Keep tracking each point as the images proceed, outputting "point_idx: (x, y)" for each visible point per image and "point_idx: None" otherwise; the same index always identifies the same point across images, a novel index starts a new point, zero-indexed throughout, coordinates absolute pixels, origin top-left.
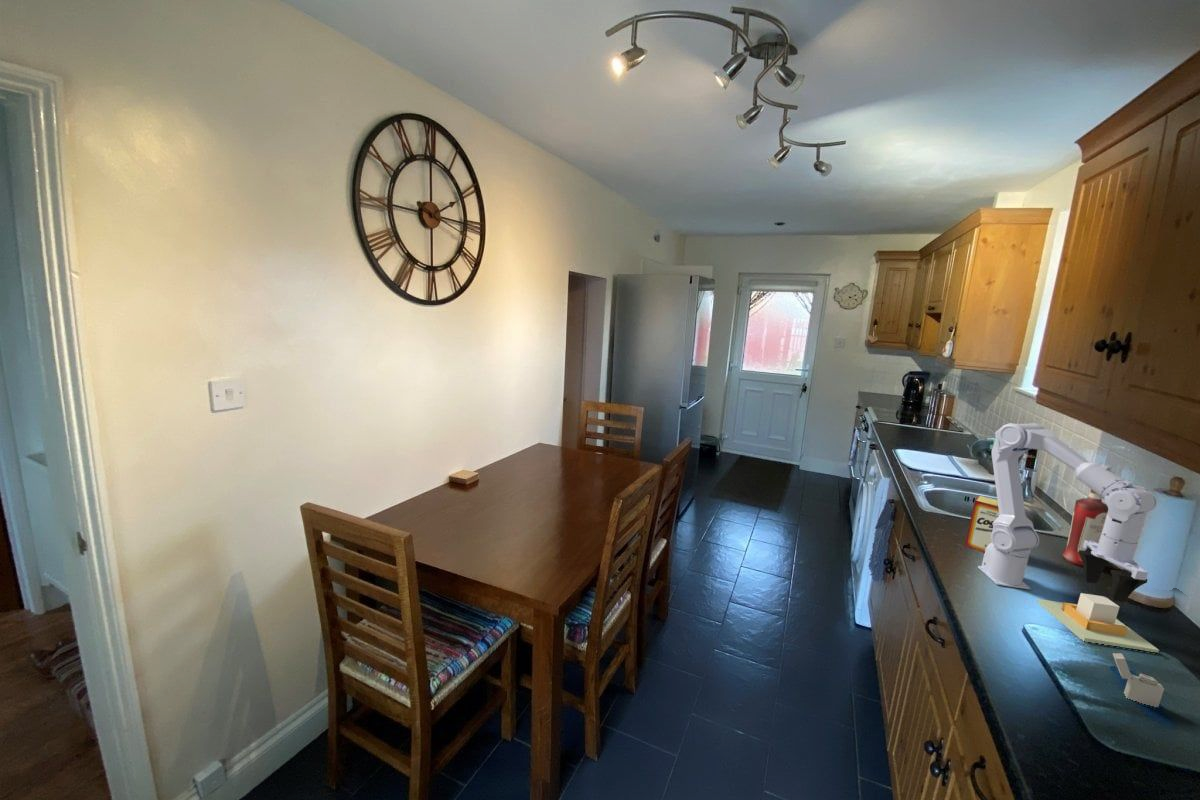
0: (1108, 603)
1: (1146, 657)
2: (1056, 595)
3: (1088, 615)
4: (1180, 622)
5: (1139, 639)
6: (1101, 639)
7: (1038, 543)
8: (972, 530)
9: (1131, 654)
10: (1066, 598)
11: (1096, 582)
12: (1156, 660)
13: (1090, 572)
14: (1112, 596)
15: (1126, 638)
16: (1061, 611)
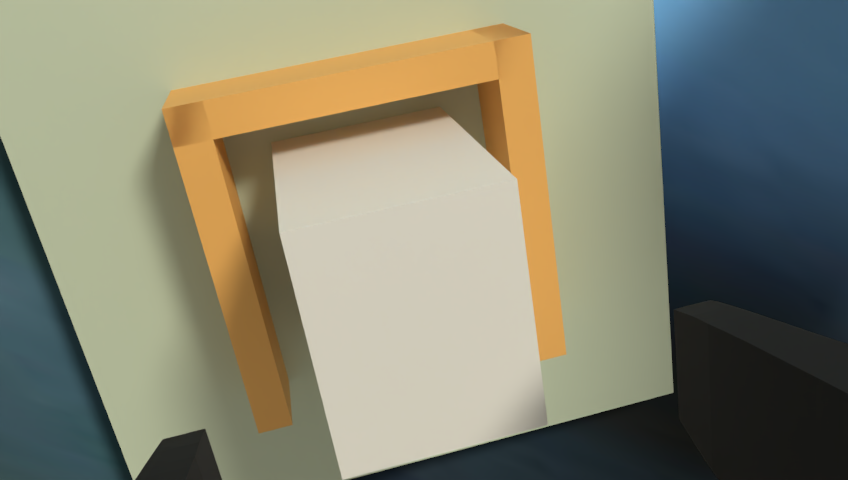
0: (364, 395)
1: (34, 416)
2: (828, 137)
3: (298, 165)
4: None
5: (257, 463)
6: (29, 156)
7: None
8: None
9: (4, 327)
10: (800, 201)
11: (685, 425)
12: (32, 465)
13: (782, 417)
14: (168, 458)
15: (207, 378)
16: (458, 3)
